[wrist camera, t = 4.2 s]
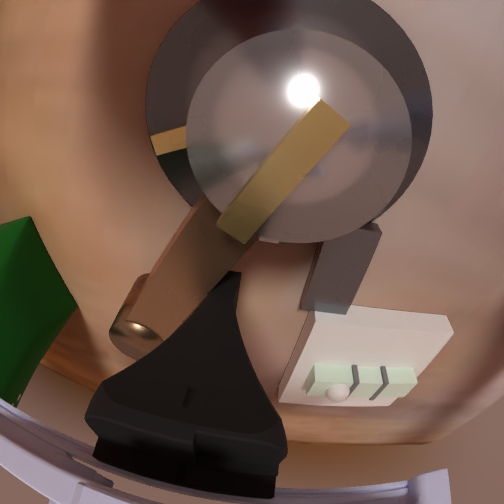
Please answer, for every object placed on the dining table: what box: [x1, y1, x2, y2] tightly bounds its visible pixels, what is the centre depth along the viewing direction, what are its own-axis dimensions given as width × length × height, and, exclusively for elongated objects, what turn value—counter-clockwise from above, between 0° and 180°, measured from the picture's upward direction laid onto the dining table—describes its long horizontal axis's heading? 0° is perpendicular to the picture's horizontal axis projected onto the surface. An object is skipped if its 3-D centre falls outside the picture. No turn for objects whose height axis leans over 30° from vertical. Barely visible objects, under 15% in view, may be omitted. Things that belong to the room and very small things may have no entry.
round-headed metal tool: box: [109, 29, 412, 360], centre depth 10 cm, size 14×5×5 cm, turn 144°
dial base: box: [146, 0, 433, 315], centre depth 11 cm, size 11×14×1 cm
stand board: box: [278, 305, 454, 406], centre depth 17 cm, size 9×9×4 cm
